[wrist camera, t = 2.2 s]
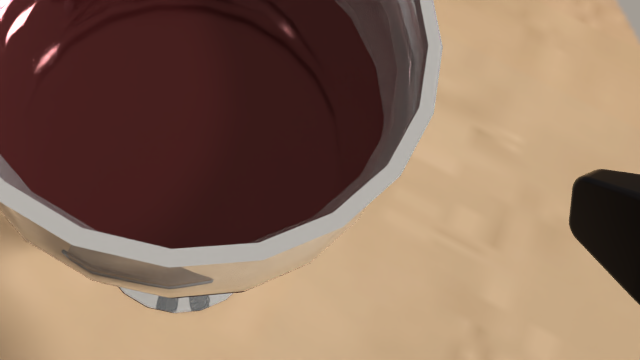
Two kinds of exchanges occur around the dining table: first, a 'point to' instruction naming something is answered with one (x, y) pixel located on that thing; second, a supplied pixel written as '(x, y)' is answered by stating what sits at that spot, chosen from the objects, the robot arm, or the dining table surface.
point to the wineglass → (205, 132)
